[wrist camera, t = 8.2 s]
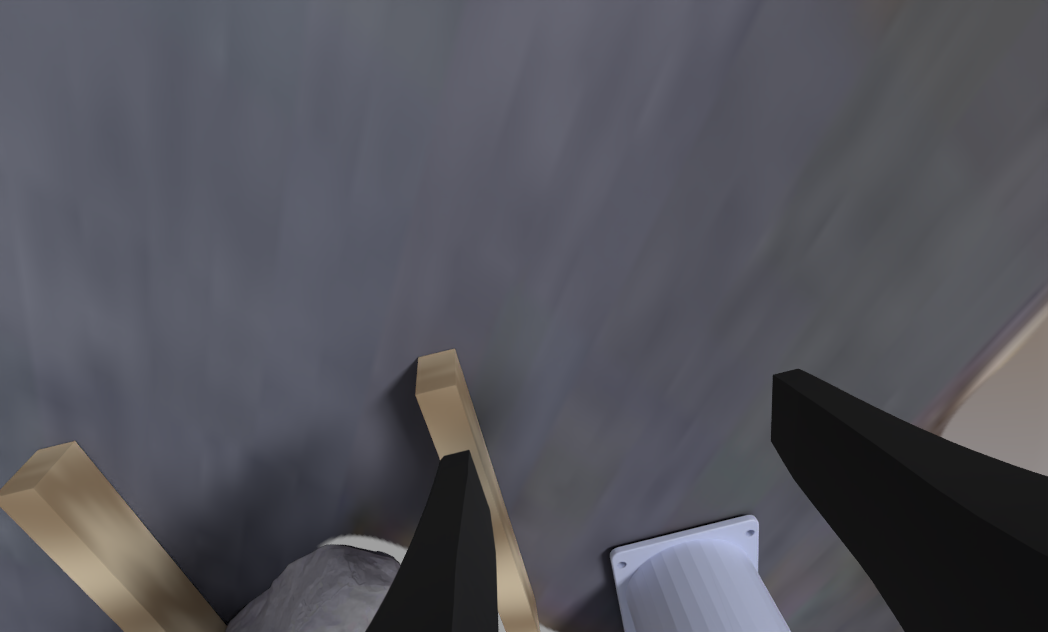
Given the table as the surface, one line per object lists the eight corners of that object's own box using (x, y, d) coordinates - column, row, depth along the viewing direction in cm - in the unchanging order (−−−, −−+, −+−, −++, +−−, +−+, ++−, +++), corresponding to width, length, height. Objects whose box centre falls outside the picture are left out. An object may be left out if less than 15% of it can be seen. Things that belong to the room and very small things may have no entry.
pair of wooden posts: (535, 600, 30) (542, 645, 28) (235, 675, 30) (218, 726, 28) (454, 348, 22) (456, 385, 20) (37, 450, 22) (-8, 498, 19)
